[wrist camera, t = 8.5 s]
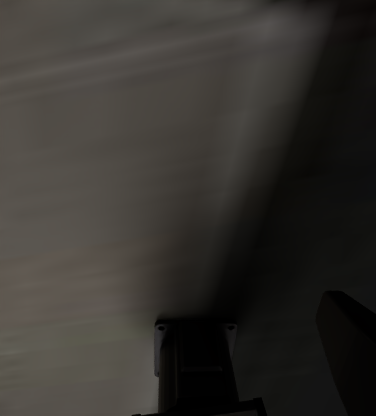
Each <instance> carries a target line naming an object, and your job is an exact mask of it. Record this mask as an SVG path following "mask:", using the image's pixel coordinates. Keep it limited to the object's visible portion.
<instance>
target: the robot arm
mask: <svg viewBox="0 0 376 416" xmlns="http://www.w3.org/2000/svg"><path fill="white" fill-rule="evenodd" d="M316 324H317V328H318V331H319V334H320V338H321V341H322V344H323V347H324V350H325V354H326V357H327V360H328V363H329V367H330V370H331V373H332V376H333V379H334V382H335V385H336V387H337V390H338V392H339V395H340V397H341V400H342V402H343V404H344V407H345V409H346V412H347V414H348V416H376V314H375V313H373V312H372V311H370V310H369V309H367V308H366V307H364V306H363V305H361V304H360V303H359V302H357V301H356V300H354V299H353V298H351V297H350V296H348V295H347V294H345V293H344V292H342V291H325V292H324V293H323V294H322V297H321V300H320V303H319V306H318V309H317V313H316ZM160 326H162V327H160ZM236 333H237V323H236V321H235V320H231V319H221V320H158V321H157V322H156V323H155V368H154V374H155V376H157V377H159V394H158V413H154V414H146V415H141V414H135V415H132V416H267V413H266V410H265V407H264V404H263V401H262V398H261V397H260V398H253V400H249V401H242V402H239V397H238V392H237V387H236V382H235V377H234V372H233V367H232V362H231V361H232V355H233V350H234V344H235V339H236Z"/></svg>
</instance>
